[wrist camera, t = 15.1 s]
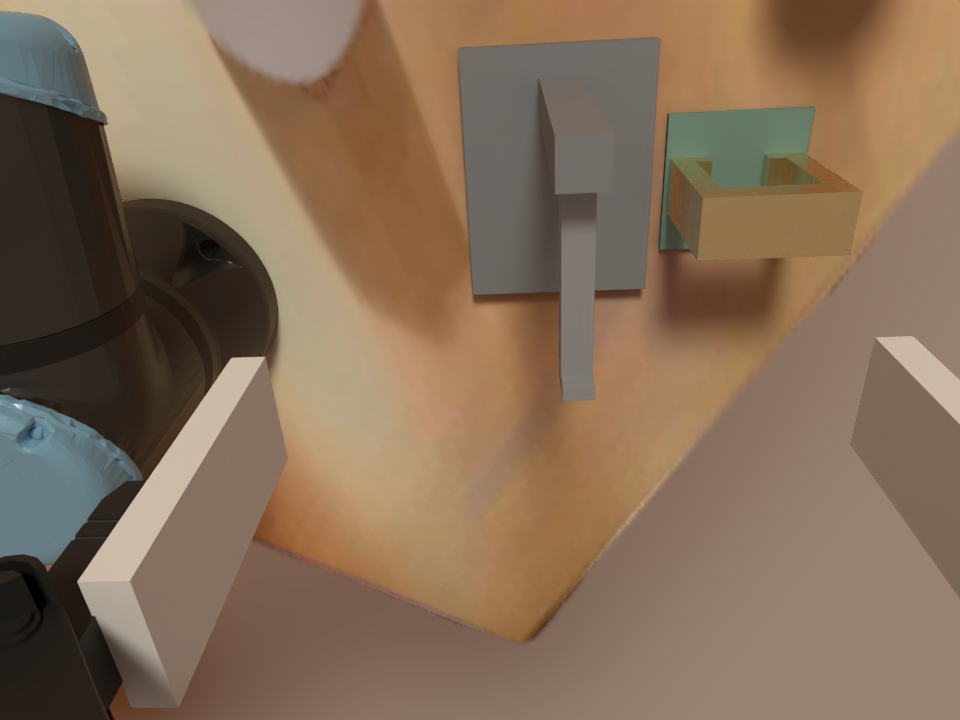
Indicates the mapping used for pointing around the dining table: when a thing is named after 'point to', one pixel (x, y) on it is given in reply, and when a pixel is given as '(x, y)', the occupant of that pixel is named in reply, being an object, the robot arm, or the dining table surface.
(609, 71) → the stand
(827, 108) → the dining table surface
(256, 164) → the dining table surface
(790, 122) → the mat
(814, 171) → the c link
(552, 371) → the dining table surface
